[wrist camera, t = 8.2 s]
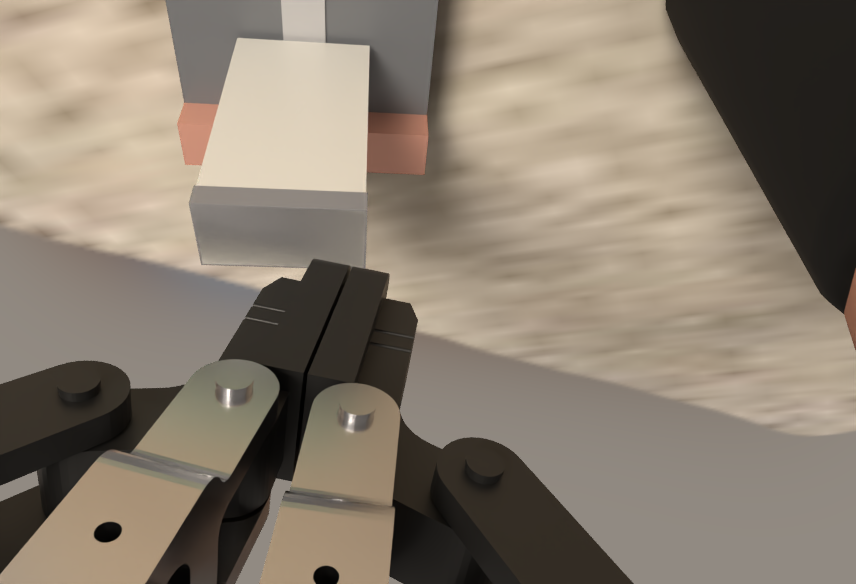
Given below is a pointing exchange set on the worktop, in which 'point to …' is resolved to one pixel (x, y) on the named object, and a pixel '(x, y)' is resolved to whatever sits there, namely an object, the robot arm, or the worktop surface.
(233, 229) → the handle
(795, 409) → the worktop surface
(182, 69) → the plate
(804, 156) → the coffee jar
